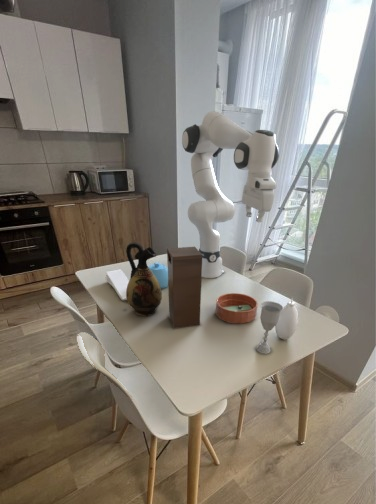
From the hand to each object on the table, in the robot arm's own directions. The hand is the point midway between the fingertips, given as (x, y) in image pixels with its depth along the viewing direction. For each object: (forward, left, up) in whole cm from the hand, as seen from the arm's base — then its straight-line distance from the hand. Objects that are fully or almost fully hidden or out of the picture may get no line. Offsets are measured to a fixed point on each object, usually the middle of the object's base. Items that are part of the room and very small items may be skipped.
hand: (253, 219), depth 118 cm
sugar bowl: (-28, -37, -37) cm, 59 cm away
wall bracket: (-25, -56, -37) cm, 72 cm away
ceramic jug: (-1, -48, -37) cm, 61 cm away
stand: (+12, -32, -37) cm, 51 cm away
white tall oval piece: (+34, +2, -37) cm, 51 cm away
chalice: (+39, -9, -37) cm, 55 cm away
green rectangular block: (+12, -9, -36) cm, 39 cm away
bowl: (+12, -9, -37) cm, 40 cm away
